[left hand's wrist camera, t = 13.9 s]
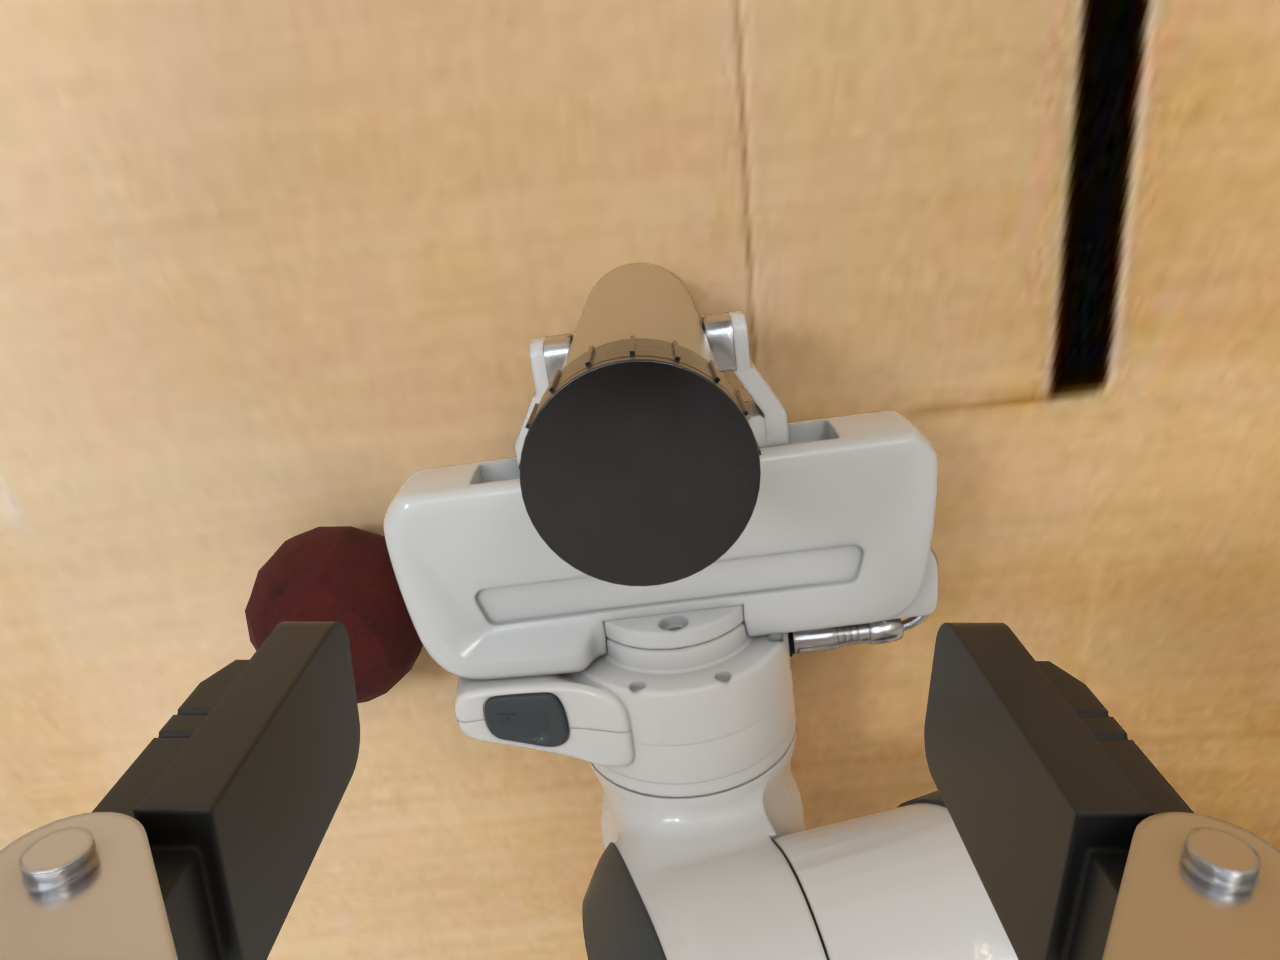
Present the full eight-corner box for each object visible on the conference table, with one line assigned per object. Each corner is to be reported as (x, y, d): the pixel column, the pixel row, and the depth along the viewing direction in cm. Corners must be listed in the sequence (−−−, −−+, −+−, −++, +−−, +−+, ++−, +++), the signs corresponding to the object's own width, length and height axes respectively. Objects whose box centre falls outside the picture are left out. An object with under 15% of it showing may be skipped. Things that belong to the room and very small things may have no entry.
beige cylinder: (565, 292, 37) (493, 420, 19) (668, 243, 36) (696, 327, 18) (613, 392, 38) (590, 600, 20) (713, 347, 38) (780, 520, 20)
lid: (489, 392, 21) (471, 420, 18) (697, 295, 20) (704, 312, 18) (588, 576, 22) (582, 623, 20) (784, 494, 22) (800, 533, 19)
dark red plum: (360, 673, 43) (309, 766, 37) (251, 553, 41) (177, 630, 34) (479, 598, 42) (448, 681, 35) (374, 470, 40) (320, 533, 33)
